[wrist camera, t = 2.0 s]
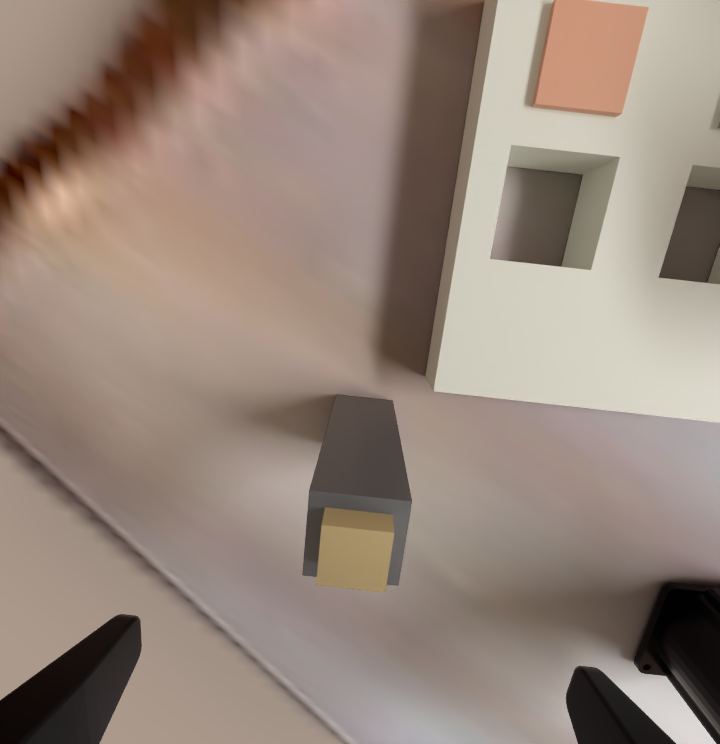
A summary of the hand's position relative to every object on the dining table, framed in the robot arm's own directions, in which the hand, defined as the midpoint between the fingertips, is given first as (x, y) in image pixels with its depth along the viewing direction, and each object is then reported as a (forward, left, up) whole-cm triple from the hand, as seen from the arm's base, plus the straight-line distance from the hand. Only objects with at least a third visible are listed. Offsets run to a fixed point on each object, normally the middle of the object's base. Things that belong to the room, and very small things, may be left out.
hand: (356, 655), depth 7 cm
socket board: (+11, -10, -13) cm, 19 cm away
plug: (0, 0, -13) cm, 13 cm away
